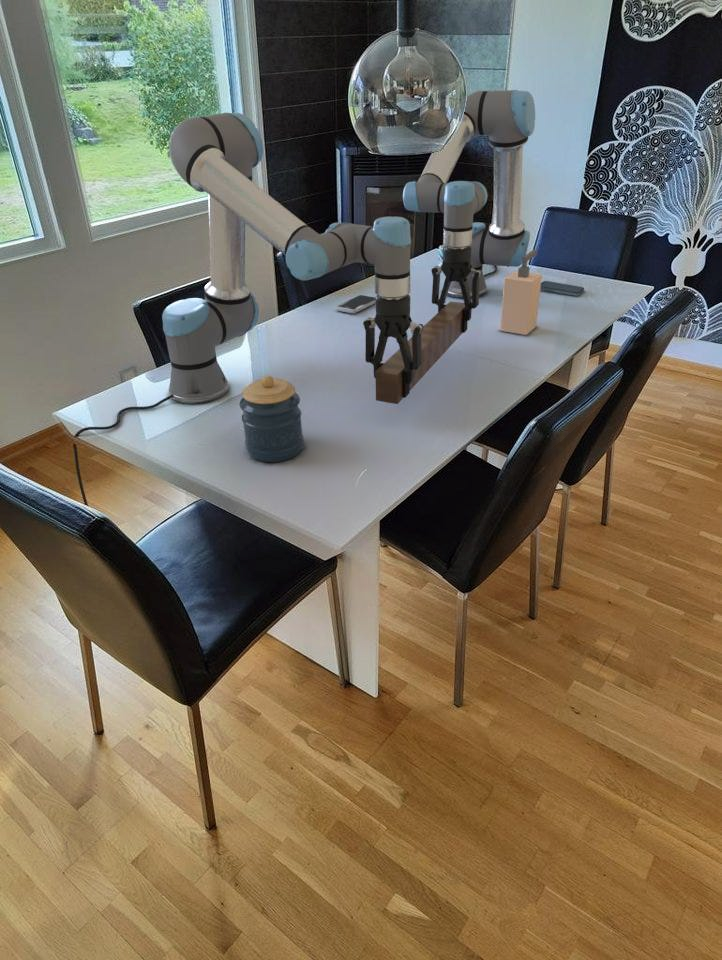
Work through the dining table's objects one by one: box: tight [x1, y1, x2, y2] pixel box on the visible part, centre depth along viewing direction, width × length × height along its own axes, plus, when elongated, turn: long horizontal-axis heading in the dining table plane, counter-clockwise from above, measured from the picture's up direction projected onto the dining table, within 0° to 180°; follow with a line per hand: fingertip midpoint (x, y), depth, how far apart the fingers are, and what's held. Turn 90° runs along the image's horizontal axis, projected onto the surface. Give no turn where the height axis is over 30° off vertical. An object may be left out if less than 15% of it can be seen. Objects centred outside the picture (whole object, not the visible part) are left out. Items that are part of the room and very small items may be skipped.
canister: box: [239, 374, 305, 463], centre depth 146 cm, size 13×13×18 cm
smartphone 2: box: [540, 280, 585, 297], centre depth 238 cm, size 8×2×15 cm
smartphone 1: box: [335, 294, 376, 314], centre depth 231 cm, size 8×1×15 cm
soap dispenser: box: [499, 249, 543, 336], centre depth 204 cm, size 13×9×22 cm
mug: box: [438, 244, 445, 266], centre depth 266 cm, size 8×12×8 cm
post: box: [374, 300, 465, 405], centre depth 171 cm, size 52×5×7 cm, turn 155°
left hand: (393, 392), depth 156 cm, fingers closed on post, 5 cm apart
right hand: (453, 329), depth 190 cm, fingers closed on post, 5 cm apart
